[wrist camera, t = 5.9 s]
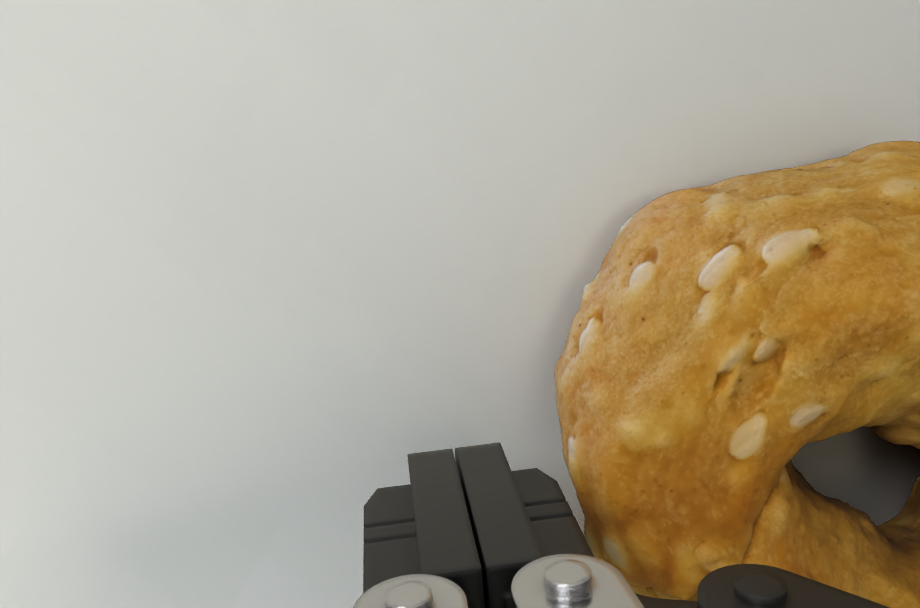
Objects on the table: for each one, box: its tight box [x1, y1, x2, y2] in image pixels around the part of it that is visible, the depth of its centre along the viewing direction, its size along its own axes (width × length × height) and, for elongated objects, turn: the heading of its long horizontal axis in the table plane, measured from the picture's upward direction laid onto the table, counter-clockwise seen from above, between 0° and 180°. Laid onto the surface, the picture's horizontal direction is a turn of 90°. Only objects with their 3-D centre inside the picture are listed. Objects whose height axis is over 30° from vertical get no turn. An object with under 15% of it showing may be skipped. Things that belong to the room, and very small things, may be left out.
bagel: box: [555, 141, 920, 608], centre depth 13 cm, size 10×11×5 cm
